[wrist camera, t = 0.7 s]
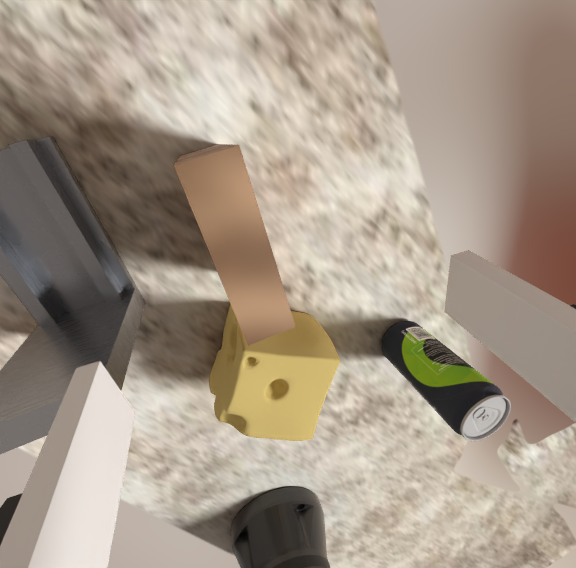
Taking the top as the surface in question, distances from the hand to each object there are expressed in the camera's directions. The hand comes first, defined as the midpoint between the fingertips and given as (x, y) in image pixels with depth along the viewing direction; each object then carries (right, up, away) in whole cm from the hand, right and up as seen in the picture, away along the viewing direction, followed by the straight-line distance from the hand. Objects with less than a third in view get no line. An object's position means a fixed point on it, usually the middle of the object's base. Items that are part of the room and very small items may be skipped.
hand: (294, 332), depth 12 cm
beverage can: (+15, -6, +33) cm, 37 cm away
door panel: (-7, +9, +20) cm, 22 cm away
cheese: (-4, -5, +27) cm, 28 cm away
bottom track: (-21, +5, +17) cm, 27 cm away
